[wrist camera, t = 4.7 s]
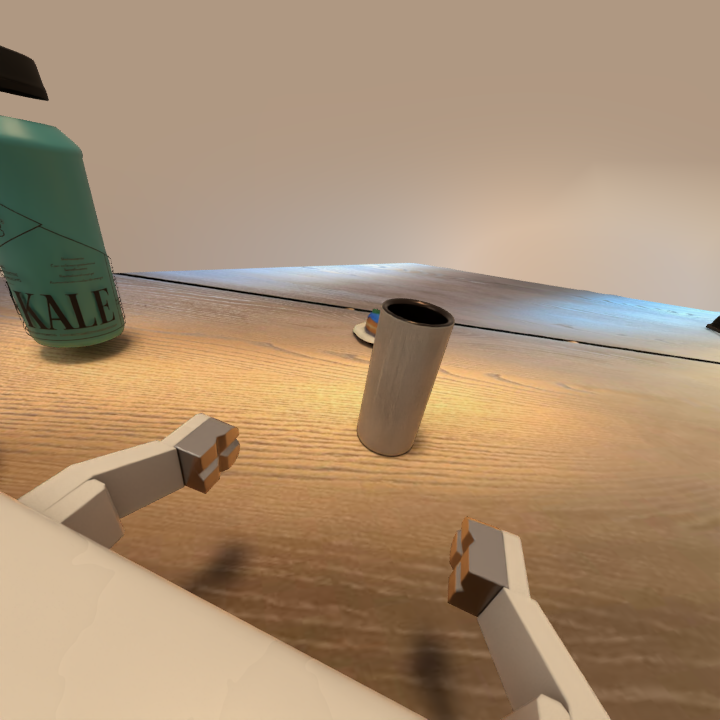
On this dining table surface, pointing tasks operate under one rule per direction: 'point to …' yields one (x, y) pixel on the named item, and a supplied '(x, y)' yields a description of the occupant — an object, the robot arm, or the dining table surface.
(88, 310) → the beverage bottle
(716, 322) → the sunglasses
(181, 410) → the dining table surface
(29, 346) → the dining table surface
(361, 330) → the dessert
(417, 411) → the grey tumbler
